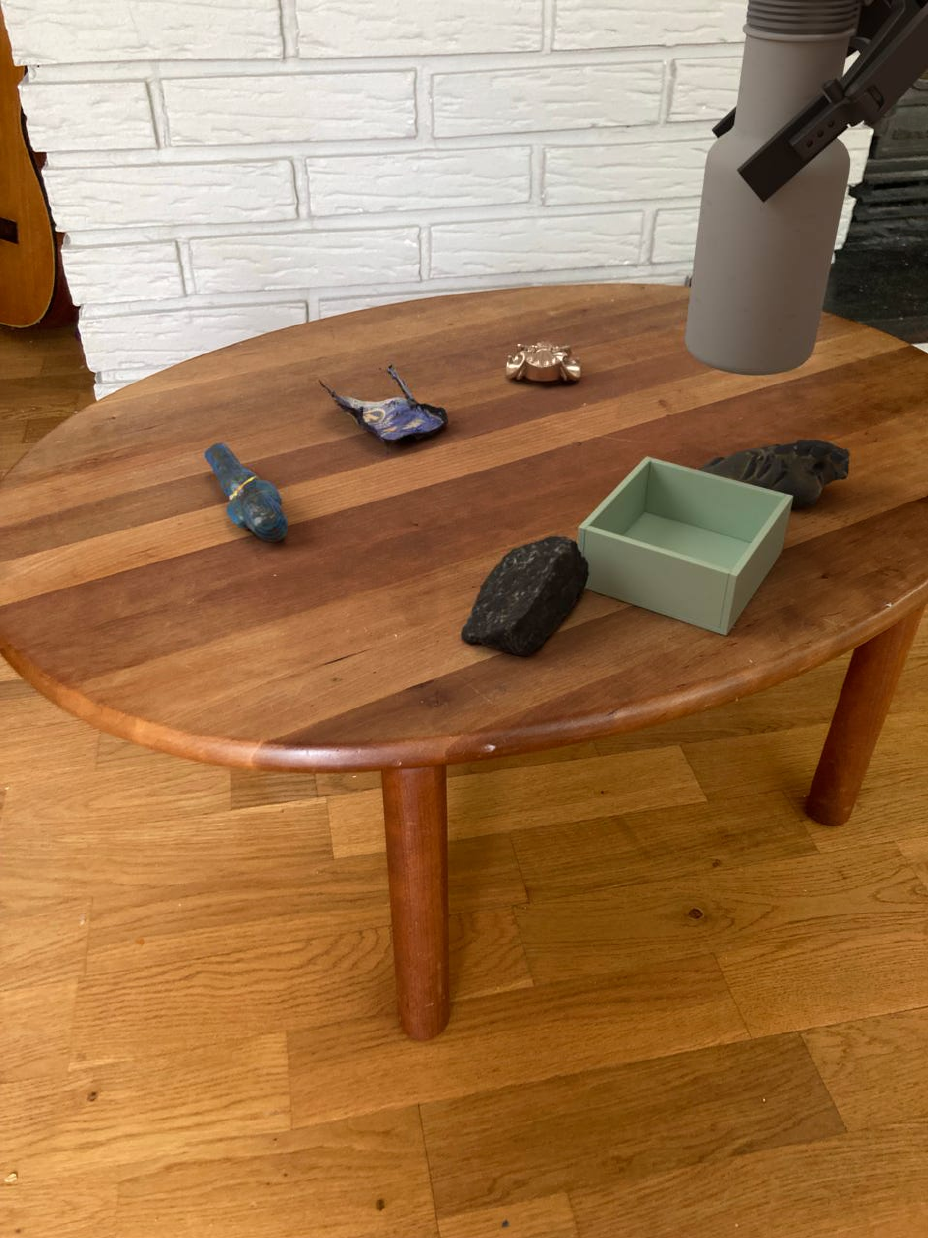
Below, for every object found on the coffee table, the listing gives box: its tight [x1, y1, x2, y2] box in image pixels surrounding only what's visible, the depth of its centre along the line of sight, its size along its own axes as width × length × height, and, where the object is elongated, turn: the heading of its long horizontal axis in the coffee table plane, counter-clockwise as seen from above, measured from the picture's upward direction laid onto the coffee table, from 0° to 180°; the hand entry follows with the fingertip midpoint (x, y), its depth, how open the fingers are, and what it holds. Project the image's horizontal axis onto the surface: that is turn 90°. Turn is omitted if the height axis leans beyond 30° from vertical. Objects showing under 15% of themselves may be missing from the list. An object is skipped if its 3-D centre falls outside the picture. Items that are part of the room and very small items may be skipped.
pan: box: [576, 456, 793, 637], centre depth 82 cm, size 13×13×6 cm
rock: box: [460, 535, 589, 657], centre depth 78 cm, size 7×10×6 cm
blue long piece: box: [203, 442, 289, 543], centre depth 91 cm, size 5×4×15 cm
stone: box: [698, 439, 851, 509], centre depth 91 cm, size 7×13×5 cm, turn 85°
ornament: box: [505, 340, 581, 382], centre depth 111 cm, size 8×7×4 cm
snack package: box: [318, 363, 449, 454], centre depth 102 cm, size 12×6×12 cm
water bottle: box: [684, 0, 873, 377], centre depth 72 cm, size 10×10×28 cm
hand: (735, 164), depth 73 cm, fingers closed on water bottle, 10 cm apart
